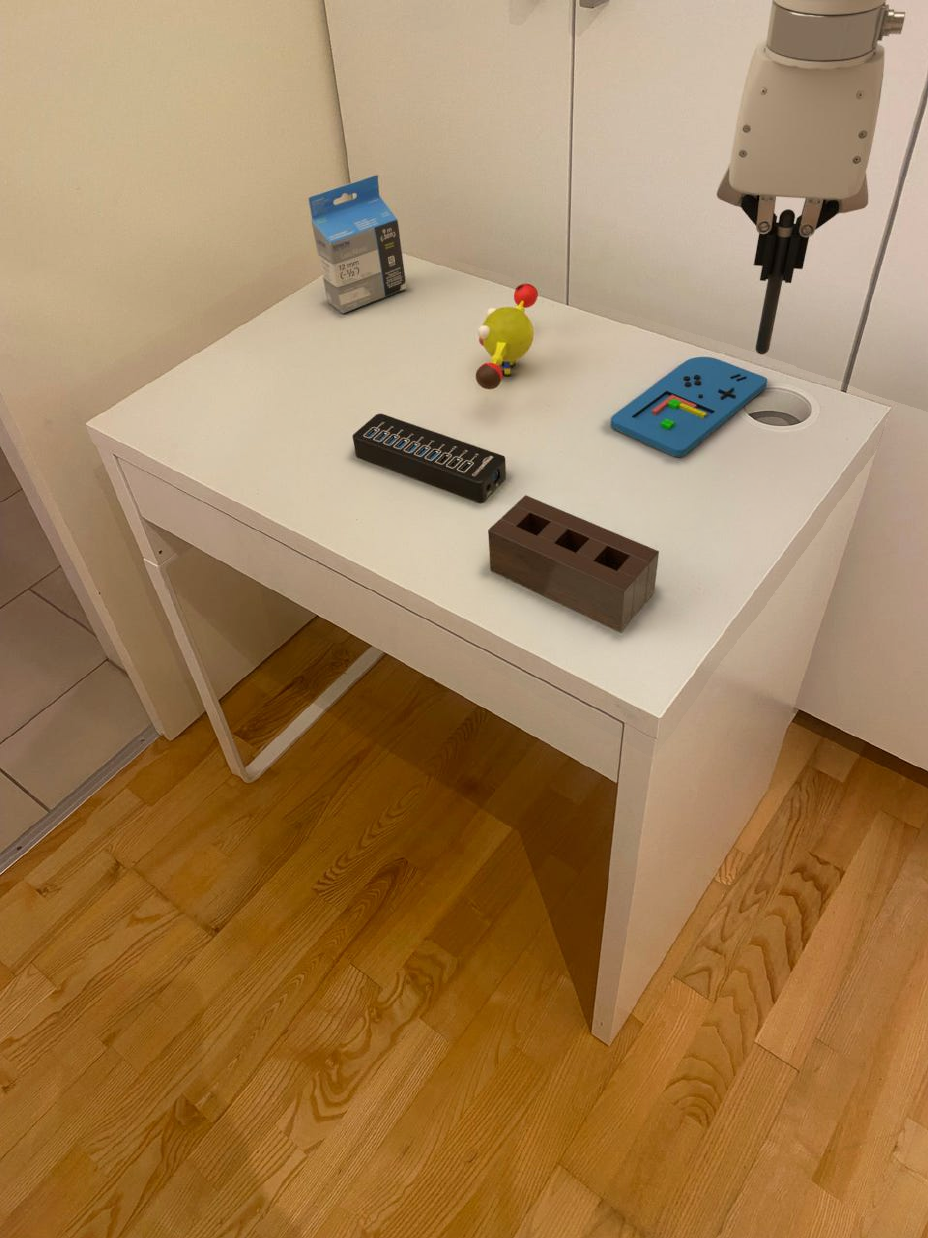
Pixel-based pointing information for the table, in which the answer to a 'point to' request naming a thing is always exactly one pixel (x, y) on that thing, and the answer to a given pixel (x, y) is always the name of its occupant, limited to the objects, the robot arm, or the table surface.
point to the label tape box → (357, 245)
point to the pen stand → (573, 562)
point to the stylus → (775, 280)
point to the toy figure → (506, 337)
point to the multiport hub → (430, 457)
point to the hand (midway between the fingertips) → (776, 272)
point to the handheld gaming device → (688, 404)
